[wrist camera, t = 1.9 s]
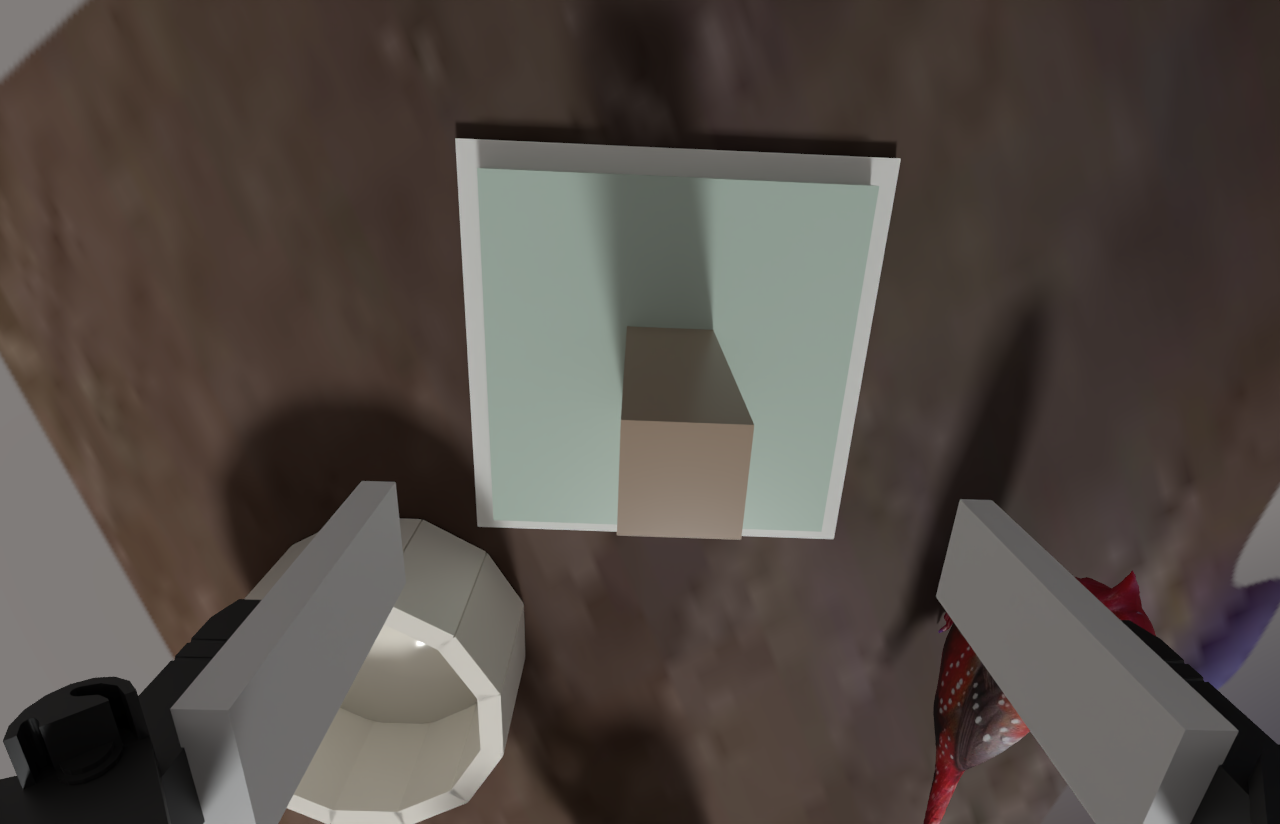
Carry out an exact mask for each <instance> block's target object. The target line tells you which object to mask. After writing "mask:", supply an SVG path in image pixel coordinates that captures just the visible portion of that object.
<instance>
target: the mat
mask: <svg viewBox="0 0 1280 824" xmlns="http://www.w3.org/2000/svg"><path fill="white" fill-rule="evenodd" d="M455 142H456V160H457V177H458V195H459V212H460V230H461V247H462V265H463V282H464V299H465V317H466V334H467V352H468V369H469V387H470V404H471V421H472V439H473V456H474V474H475V491H476V509H477V526H478V527H500V528H529V529H558V530H586V531H615V532H617V524H589V523H561V522H532V521H504V520H493V500H492V478H491V457H490V435H489V414H488V393H487V371H486V350H485V329H484V307H483V286H482V264H481V243H480V222H479V200H478V179H477V168H502V169H525V170H547V171H569V172H592V173H614V174H636V175H659V176H681V177H703V178H726V179H748V180H770V181H793V182H815V183H837V184H860V185H875V186H879V191H878V197H877V203H876V209H875V215H874V221H873V227H872V233H871V239H870V245H869V251H868V257H867V263H866V269H865V275H864V281H863V287H862V293H861V299H860V304H859V310H858V316H857V322H856V328H855V334H854V340H853V346H852V352H851V358H850V364H849V370H848V376H847V382H846V388H845V394H844V400H843V406H842V412H841V418H840V424H839V430H838V436H837V442H836V448H835V454H834V460H833V466H832V472H831V477H830V483H829V489H828V495H827V501H826V507H825V513H824V519H823V525H822V531H821V532H817V531H789V530H760V529H742V536H758V537H787V538H815V539H834V534H835V529H836V523H837V517H838V512H839V506H840V500H841V495H842V489H843V483H844V478H845V472H846V466H847V461H848V455H849V449H850V444H851V438H852V432H853V427H854V421H855V416H856V410H857V404H858V399H859V393H860V387H861V382H862V376H863V370H864V365H865V359H866V353H867V348H868V342H869V336H870V331H871V325H872V319H873V314H874V308H875V302H876V297H877V291H878V285H879V280H880V274H881V268H882V263H883V257H884V251H885V246H886V240H887V234H888V229H889V223H890V217H891V212H892V206H893V200H894V195H895V189H896V183H897V178H898V172H899V166H900V161H901V159H900V158H878V157H856V156H834V155H812V154H790V153H768V152H746V151H724V150H703V149H681V148H659V147H637V146H615V145H593V144H571V143H549V142H527V141H505V140H483V139H461V138H455Z"/></svg>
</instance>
